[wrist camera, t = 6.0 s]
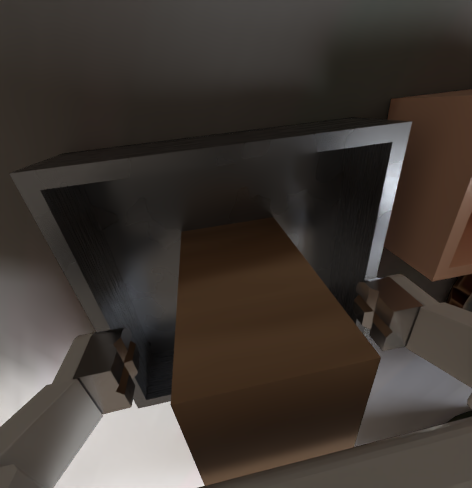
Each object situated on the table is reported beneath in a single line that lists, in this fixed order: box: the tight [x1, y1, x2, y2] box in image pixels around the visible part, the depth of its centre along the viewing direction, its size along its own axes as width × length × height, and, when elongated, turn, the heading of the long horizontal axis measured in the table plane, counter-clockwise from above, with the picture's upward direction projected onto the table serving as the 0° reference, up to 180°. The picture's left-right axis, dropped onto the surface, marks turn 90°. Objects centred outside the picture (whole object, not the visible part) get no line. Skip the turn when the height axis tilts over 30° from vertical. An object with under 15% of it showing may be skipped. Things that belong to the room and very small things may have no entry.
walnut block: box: [171, 217, 381, 486], centre depth 9 cm, size 4×4×7 cm
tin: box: [9, 117, 412, 408], centre depth 11 cm, size 11×11×3 cm
